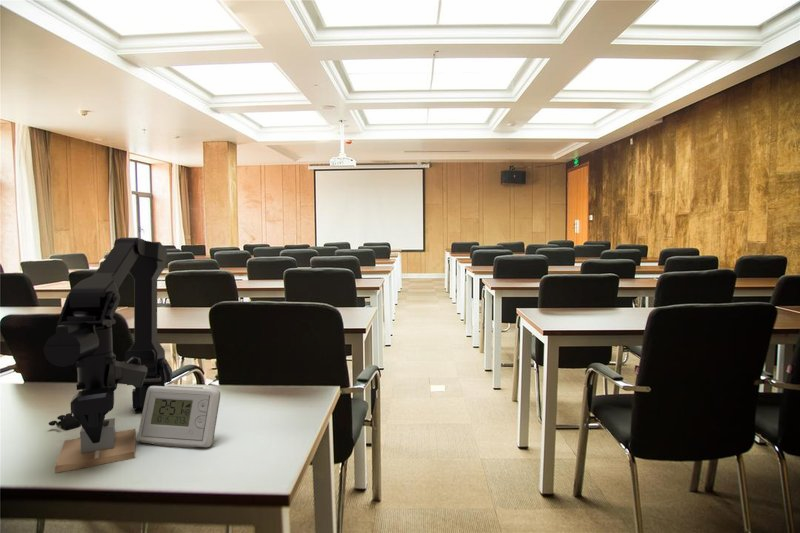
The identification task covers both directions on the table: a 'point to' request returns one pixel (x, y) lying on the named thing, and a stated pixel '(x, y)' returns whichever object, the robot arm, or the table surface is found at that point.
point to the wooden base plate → (96, 452)
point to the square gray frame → (105, 440)
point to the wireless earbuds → (66, 422)
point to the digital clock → (179, 416)
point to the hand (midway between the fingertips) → (98, 433)
